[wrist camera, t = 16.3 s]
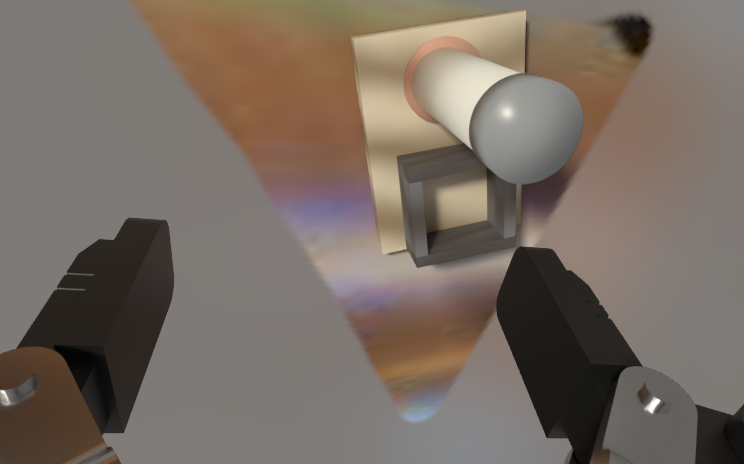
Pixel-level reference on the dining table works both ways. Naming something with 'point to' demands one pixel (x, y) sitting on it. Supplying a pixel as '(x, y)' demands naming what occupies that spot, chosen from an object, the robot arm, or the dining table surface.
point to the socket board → (433, 144)
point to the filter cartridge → (500, 113)
